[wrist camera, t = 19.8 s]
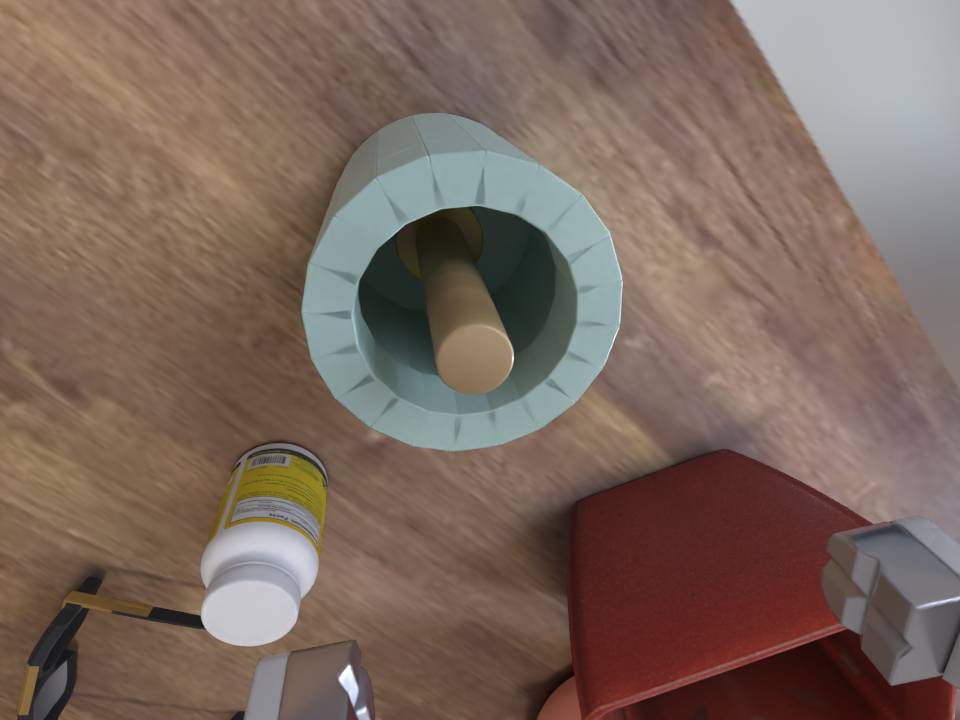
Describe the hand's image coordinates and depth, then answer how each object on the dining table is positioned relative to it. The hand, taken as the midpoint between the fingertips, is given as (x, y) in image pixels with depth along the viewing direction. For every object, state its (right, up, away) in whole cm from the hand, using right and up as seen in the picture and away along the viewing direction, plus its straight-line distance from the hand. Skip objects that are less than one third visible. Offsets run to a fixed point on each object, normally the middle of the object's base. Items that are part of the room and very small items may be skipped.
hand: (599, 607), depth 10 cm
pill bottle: (-15, -4, +30) cm, 33 cm away
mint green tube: (-4, +12, +23) cm, 26 cm away
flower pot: (+12, -9, +37) cm, 40 cm away
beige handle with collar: (-4, +11, +22) cm, 25 cm away
